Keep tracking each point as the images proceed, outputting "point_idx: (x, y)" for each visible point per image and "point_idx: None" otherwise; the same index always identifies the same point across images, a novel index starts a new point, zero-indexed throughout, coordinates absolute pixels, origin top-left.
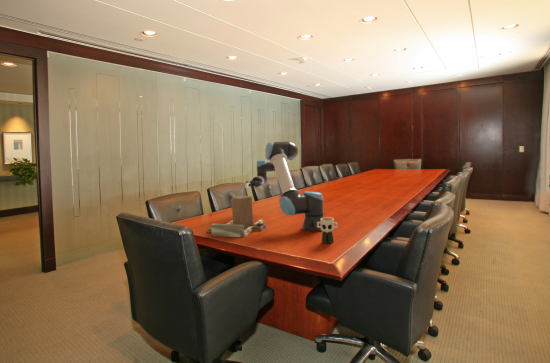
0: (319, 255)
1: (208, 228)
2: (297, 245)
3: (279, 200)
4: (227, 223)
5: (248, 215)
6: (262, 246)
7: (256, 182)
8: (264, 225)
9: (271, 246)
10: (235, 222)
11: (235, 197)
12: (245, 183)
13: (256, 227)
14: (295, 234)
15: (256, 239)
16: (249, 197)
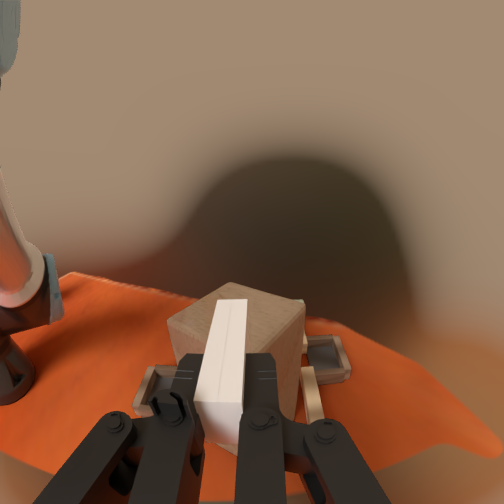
0: (73, 282)
1: (338, 337)
2: (85, 303)
3: (56, 278)
4: (315, 396)
5: None
6: (147, 297)
7: (66, 465)
8: (139, 390)
9: (130, 298)
10: None
11: (270, 297)
12: (329, 428)
13: (166, 365)
14: (65, 348)
15: (161, 322)
16: (179, 312)
